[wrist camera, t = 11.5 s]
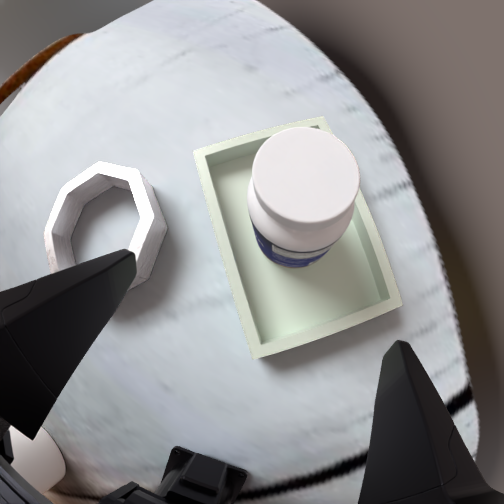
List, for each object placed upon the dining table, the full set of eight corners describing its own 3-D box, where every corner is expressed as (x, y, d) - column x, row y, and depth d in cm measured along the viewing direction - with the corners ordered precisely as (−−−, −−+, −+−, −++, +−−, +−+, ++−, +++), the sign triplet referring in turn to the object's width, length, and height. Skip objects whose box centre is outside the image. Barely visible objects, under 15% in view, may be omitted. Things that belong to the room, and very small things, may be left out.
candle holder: (32, 473, 18) (-26, 500, 6) (7, 407, 20) (-62, 420, 8) (83, 492, 17) (22, 537, 6) (53, 417, 19) (-29, 445, 8)
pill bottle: (256, 195, 22) (243, 115, 12) (329, 197, 21) (363, 121, 12) (253, 269, 21) (235, 233, 11) (331, 271, 20) (379, 237, 11)
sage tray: (389, 306, 20) (402, 305, 18) (254, 354, 20) (252, 359, 18) (319, 132, 23) (323, 116, 21) (199, 165, 23) (192, 151, 21)
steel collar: (136, 316, 21) (118, 315, 18) (52, 271, 23) (32, 266, 20) (182, 193, 23) (171, 177, 20) (92, 170, 24) (77, 157, 21)
